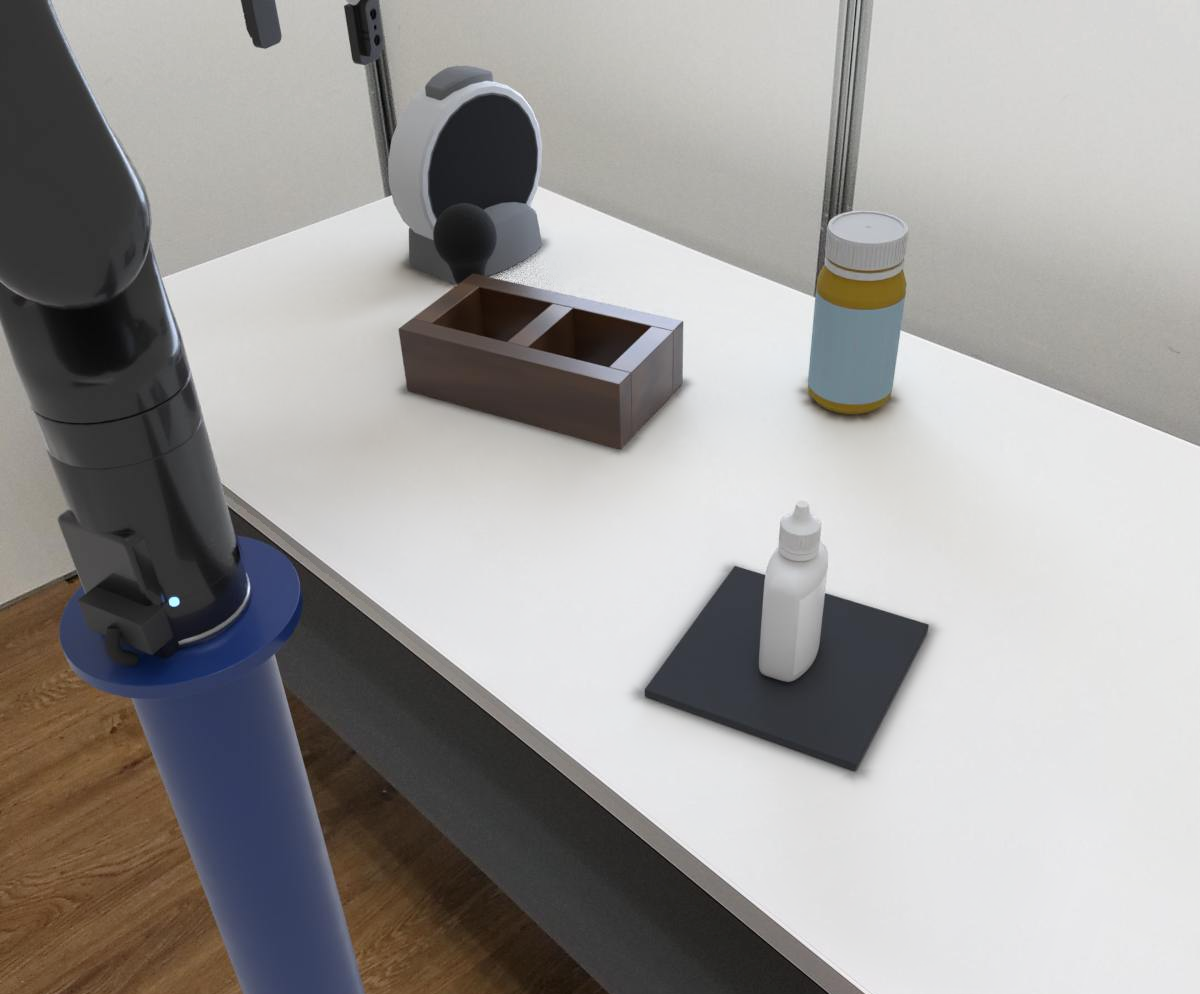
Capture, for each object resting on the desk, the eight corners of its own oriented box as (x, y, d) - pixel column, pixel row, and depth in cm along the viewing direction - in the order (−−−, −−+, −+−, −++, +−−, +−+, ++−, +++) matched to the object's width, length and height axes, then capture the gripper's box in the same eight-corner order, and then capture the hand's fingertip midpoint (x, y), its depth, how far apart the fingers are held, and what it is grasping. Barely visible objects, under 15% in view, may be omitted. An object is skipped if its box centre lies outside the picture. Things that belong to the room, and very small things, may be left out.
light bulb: (456, 289, 124) (445, 190, 118) (511, 296, 123) (503, 196, 116) (432, 316, 120) (419, 215, 113) (489, 324, 118) (479, 222, 112)
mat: (855, 771, 74) (856, 764, 74) (644, 696, 80) (644, 689, 79) (927, 630, 84) (929, 624, 83) (734, 571, 89) (734, 565, 89)
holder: (620, 449, 101) (619, 384, 97) (407, 390, 109) (397, 328, 106) (682, 383, 109) (683, 320, 105) (478, 333, 117) (472, 272, 113)
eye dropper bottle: (844, 655, 81) (864, 504, 73) (778, 692, 79) (791, 539, 71) (799, 620, 84) (813, 470, 76) (733, 654, 82) (741, 503, 74)
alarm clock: (449, 295, 123) (427, 105, 111) (383, 266, 128) (356, 81, 117) (566, 241, 132) (557, 59, 120) (500, 215, 137) (485, 39, 125)
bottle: (848, 366, 110) (867, 200, 101) (908, 398, 106) (933, 228, 96) (789, 392, 107) (803, 224, 98) (848, 427, 103) (868, 254, 93)
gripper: (134, -228, 75) (199, 56, 85) (322, -219, 69) (367, 84, 80) (220, -245, 80) (273, 25, 90) (402, -238, 74) (435, 50, 85)
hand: (317, 53), depth 85 cm, fingers open, 8 cm apart
